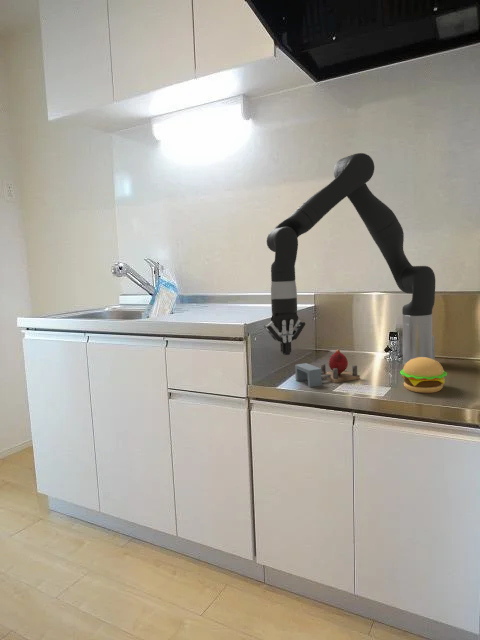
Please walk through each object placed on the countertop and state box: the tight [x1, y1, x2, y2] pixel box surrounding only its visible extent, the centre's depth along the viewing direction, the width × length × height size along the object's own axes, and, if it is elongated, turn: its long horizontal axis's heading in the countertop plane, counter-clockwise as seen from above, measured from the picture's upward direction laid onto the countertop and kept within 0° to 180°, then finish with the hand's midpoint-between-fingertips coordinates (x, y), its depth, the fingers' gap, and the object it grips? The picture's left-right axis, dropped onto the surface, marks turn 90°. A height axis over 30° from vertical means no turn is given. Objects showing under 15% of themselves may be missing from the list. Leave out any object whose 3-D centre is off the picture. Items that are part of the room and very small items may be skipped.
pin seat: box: [320, 363, 361, 384], centre depth 139 cm, size 13×9×4 cm
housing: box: [294, 362, 323, 388], centre depth 136 cm, size 4×9×5 cm, turn 21°
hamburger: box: [399, 357, 448, 394], centre depth 123 cm, size 12×12×9 cm
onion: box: [328, 349, 349, 375], centre depth 139 cm, size 6×6×8 cm
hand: (286, 354), depth 133 cm, fingers closed
